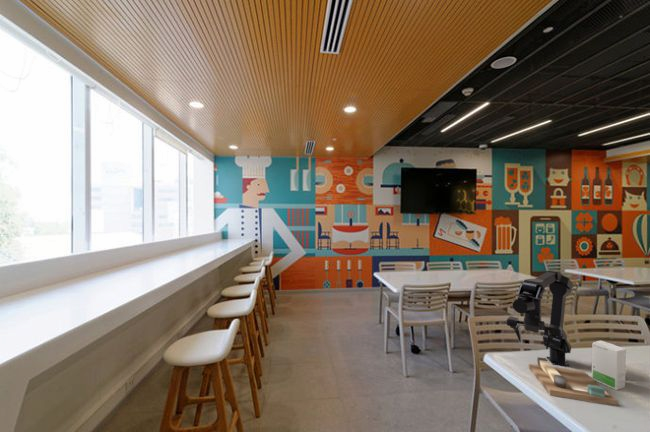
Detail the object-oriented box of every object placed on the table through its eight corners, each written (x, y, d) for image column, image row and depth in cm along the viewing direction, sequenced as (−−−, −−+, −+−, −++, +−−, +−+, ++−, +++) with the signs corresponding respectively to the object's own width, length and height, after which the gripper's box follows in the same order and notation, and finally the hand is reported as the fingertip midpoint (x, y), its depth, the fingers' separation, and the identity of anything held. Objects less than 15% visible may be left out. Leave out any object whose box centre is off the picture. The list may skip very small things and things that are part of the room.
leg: (567, 388, 105) (567, 380, 105) (556, 386, 106) (556, 379, 106) (546, 365, 122) (546, 358, 122) (536, 363, 123) (536, 357, 123)
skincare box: (590, 379, 115) (590, 342, 115) (600, 376, 117) (599, 339, 118) (617, 391, 107) (617, 350, 107) (627, 387, 109) (626, 348, 110)
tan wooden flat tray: (528, 368, 124) (528, 357, 124) (583, 375, 118) (583, 364, 118) (550, 395, 105) (549, 382, 105) (616, 406, 99) (616, 392, 99)
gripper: (504, 309, 120) (504, 345, 120) (560, 319, 107) (561, 359, 107) (508, 303, 128) (508, 337, 128) (561, 312, 116) (561, 349, 116)
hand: (533, 345), depth 119 cm, fingers open, 9 cm apart
